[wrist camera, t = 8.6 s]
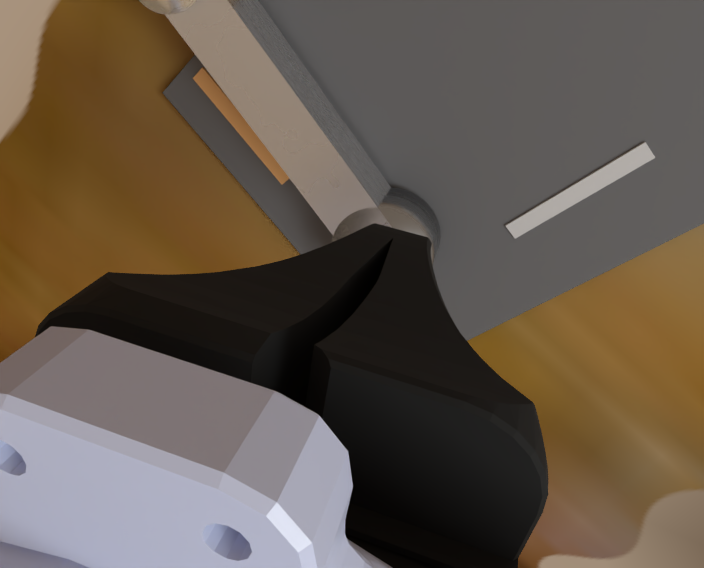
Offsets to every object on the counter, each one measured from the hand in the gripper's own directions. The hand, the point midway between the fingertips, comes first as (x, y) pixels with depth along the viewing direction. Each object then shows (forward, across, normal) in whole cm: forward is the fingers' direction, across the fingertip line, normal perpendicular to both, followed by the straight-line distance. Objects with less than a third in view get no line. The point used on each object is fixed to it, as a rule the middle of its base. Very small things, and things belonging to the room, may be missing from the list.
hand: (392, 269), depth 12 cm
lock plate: (+9, 0, -1) cm, 9 cm away
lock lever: (+8, +5, -1) cm, 10 cm away
